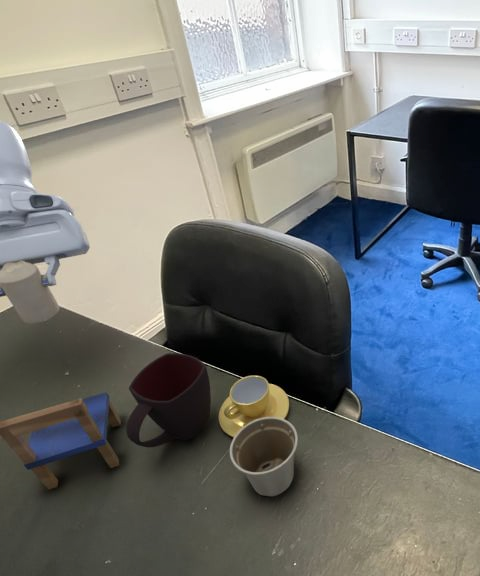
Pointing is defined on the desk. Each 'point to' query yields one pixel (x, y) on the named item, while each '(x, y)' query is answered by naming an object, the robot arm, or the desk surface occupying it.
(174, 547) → the desk surface
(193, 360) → the mug
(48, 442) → the chair
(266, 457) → the flower pot
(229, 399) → the cup
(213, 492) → the desk surface
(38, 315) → the candle
